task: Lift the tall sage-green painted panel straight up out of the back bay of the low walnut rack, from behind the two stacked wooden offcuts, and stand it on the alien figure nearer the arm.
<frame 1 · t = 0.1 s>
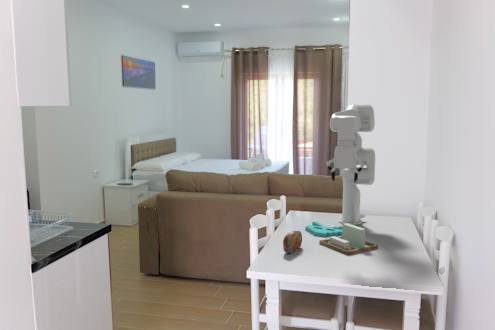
hand: (344, 181, 198), 31 cm above the table, tool pointing down, fingers open, 9 cm apart
tin: (292, 250, 196), on the table
rack: (342, 247, 201), on the table
sage panel: (353, 244, 205), on the table
grey offcut: (339, 244, 200), point 1 cm above the table, touching pine offcut
alien figure: (325, 232, 227), on the table
pine offcut: (339, 248, 200), on the table, touching grey offcut
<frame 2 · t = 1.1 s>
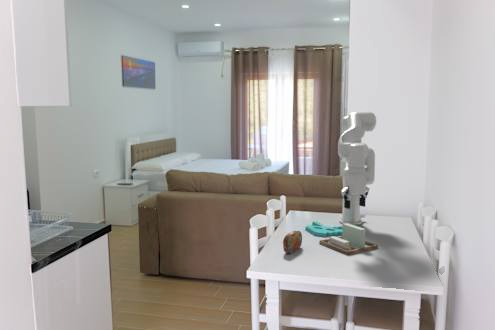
hand: (354, 207, 202), 18 cm above the table, tool pointing down, fingers open, 9 cm apart
nothing on the table moved.
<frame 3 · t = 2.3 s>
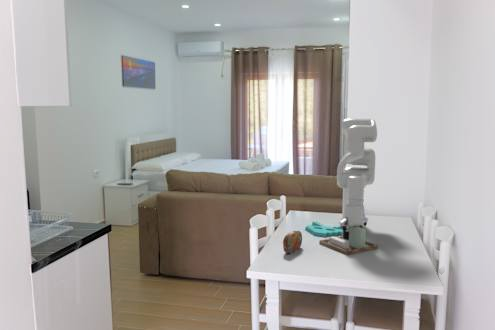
hand: (353, 237, 204), 4 cm above the table, tool pointing down, fingers open, 9 cm apart
nothing on the table moved.
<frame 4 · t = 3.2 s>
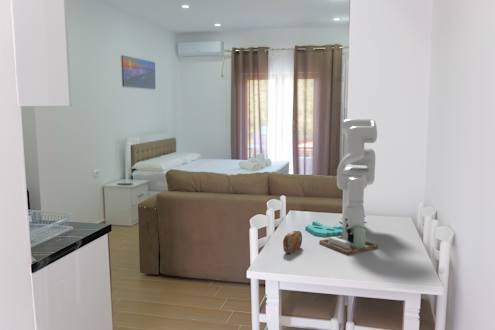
hand: (353, 241, 205), 2 cm above the table, tool pointing down, fingers closed on sage panel, 3 cm apart
sage panel: (353, 244, 205), on the table, touching gripper
everything else where it was.
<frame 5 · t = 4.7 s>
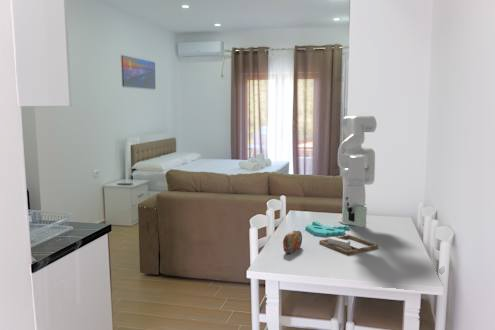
hand: (354, 220, 204), 12 cm above the table, tool pointing down, fingers closed on sage panel, 3 cm apart
sage panel: (354, 223, 204), point 10 cm above the table, touching gripper
everything else where it was.
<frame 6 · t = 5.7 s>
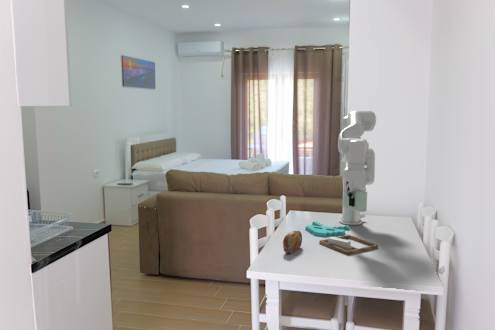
hand: (354, 205, 203), 19 cm above the table, tool pointing down, fingers closed on sage panel, 3 cm apart
sage panel: (354, 208, 203), point 17 cm above the table, touching gripper
grey offcut: (339, 244, 200), point 1 cm above the table, touching rack
pine offcut: (340, 248, 201), on the table, touching rack
everything else where it was.
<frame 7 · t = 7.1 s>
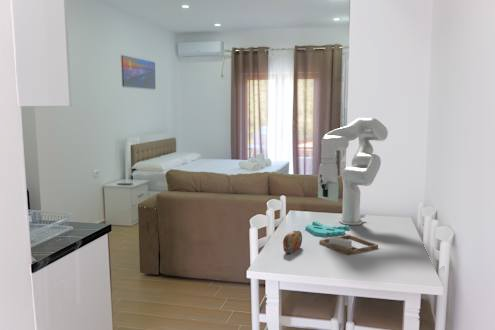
hand: (327, 195, 224), 19 cm above the table, tool pointing down, fingers closed on sage panel, 3 cm apart
sage panel: (327, 199, 224), point 17 cm above the table, touching gripper
grey offcut: (340, 244, 200), point 2 cm above the table
pine offcut: (340, 248, 201), on the table
everything else where it was.
when the fingers open (5 cm above the table, at t = 10.7 s): sage panel drops 1 cm, resting on alien figure.
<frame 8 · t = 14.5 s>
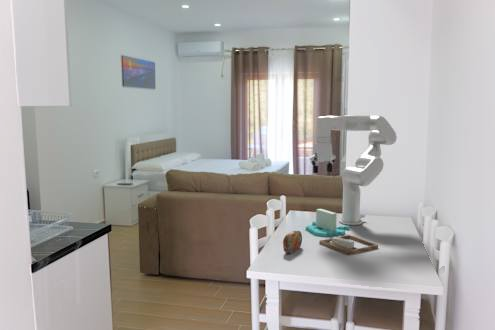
hand: (322, 172, 229), 30 cm above the table, tool pointing down, fingers open, 9 cm apart
sage panel: (325, 227, 227), point 2 cm above the table, touching alien figure
grey offcut: (342, 244, 200), point 2 cm above the table, touching rack
alien figure: (325, 232, 227), on the table, touching sage panel
everything else where it was.
at the end: sage panel 0.2 cm from the alien figure (horizontally); sage panel touching alien figure; sage panel tilted 0° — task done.
